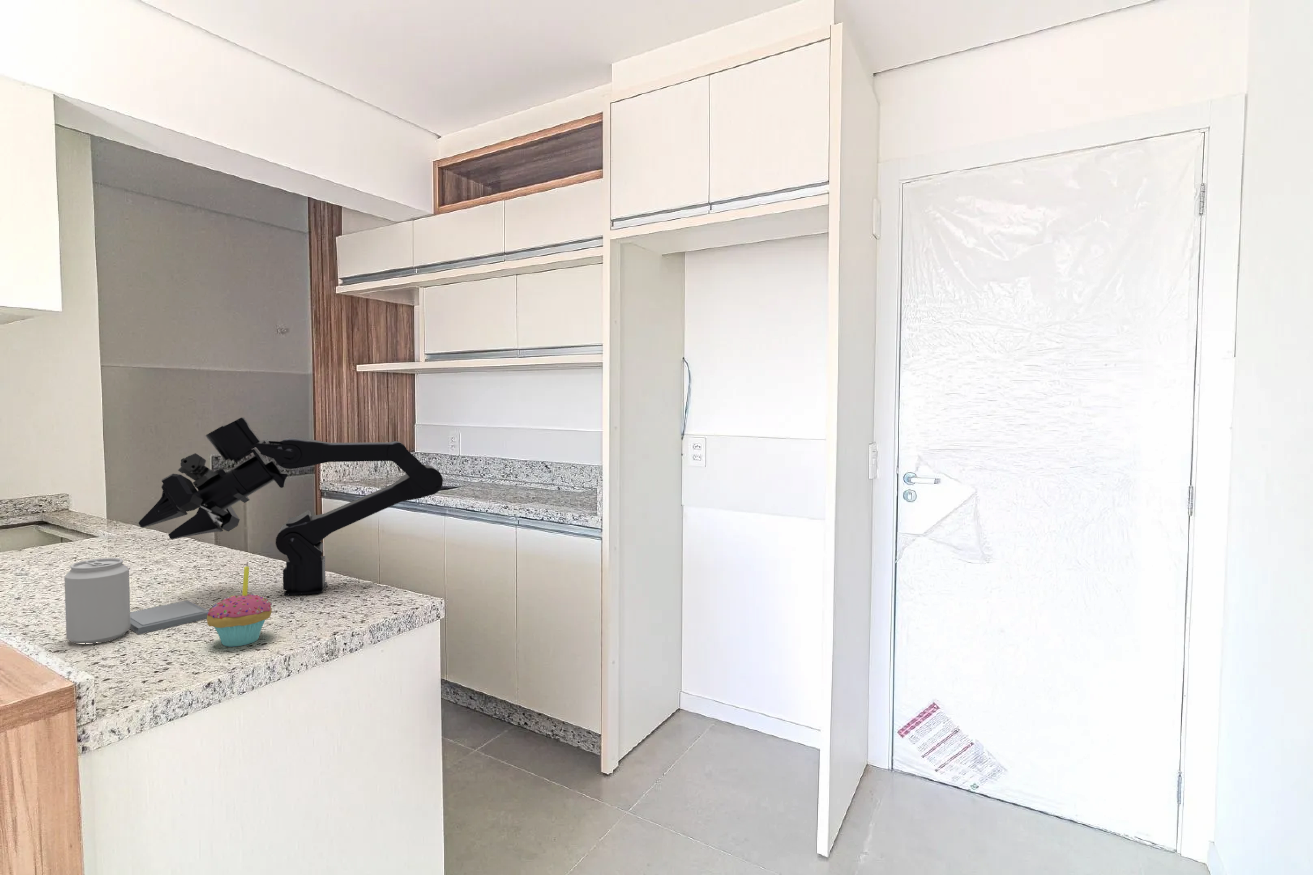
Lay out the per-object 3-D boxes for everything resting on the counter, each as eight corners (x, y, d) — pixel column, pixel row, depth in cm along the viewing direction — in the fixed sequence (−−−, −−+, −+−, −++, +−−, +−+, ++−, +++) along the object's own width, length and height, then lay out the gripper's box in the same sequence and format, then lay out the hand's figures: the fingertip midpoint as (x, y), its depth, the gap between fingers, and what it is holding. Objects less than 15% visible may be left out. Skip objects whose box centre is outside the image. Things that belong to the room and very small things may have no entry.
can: (93, 649, 95) (90, 569, 94) (53, 644, 96) (50, 565, 95) (143, 631, 102) (141, 557, 101) (105, 627, 103) (103, 553, 103)
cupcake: (228, 631, 103) (227, 557, 102) (283, 630, 103) (282, 557, 103) (194, 652, 94) (192, 572, 93) (255, 651, 95) (253, 572, 94)
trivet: (187, 605, 114) (187, 599, 114) (211, 617, 109) (210, 611, 109) (117, 620, 106) (117, 614, 106) (138, 634, 100) (138, 627, 100)
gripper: (242, 464, 129) (163, 509, 124) (195, 430, 112) (100, 480, 107) (270, 507, 127) (191, 555, 121) (226, 478, 110) (131, 533, 104)
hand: (155, 531), depth 114 cm, fingers open, 9 cm apart
